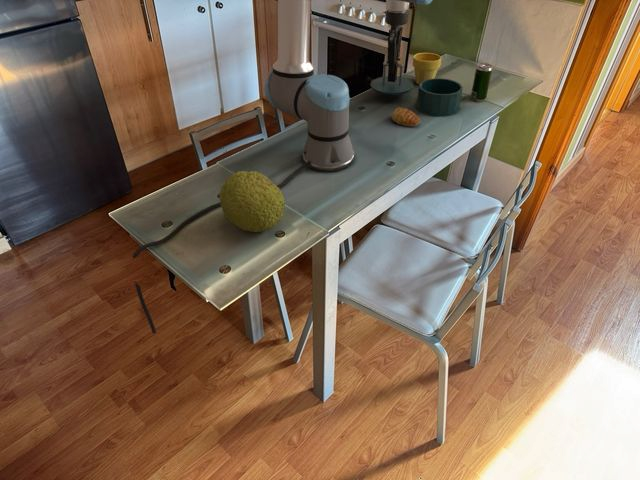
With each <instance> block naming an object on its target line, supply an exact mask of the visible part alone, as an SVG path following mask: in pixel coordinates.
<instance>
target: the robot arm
mask: <svg viewBox="0 0 640 480" xmlns="http://www.w3.org/2000/svg"><path fill="white" fill-rule="evenodd" d="M431 3H433V0H385V9H386V10H385V17H384V22H385V24H386V25H390V29H389V30H388V36H387V61H385V62H386V63H387V64H389V66H387V67H388V69H387V76H388V82H395V80H397V77H398V68H399V67H397V64H399V62H400V61H401V58H400V56H401V55H400V54H401V47H402V39H403V31H404V25H406V24H408V21H409V11H408V10H409V8H410V4H414V5H416V6H419V5H421V6H427V5H429V4H431ZM311 8H312V0H277V60H276V61H275V62H274V63H272V69H271V70H270V71H269V72H268V74H267V76H268V77H266V78H265V81H264V94H265V98H266V100H267V102H268V103H269V104H270V105H271V106H272V107H273V108H275V109H276V110H278V111H279V112H281V113H285V114H287V115H290V116H293V117H295V118H297V119H299V120H300V119H301V120H303V121H305V122H306V124H307V125H306V126H307V137H306V140H305V144H304V148H303V151H302V161H303V164H302V165H301V166H300V167H298V168H297V169H296V170H295V171H293V172H292V173H291V174H289V176H287V177H286V179H285V180H284V181H282V182H281V183H279V184H277V185H276V186H277V187H279V189H281V188H282V187H284V186H285V185H287V184H288V183H289V182H290V181H291V180H292V179H293V178H294V177H295V176H296V175H298V174H299V173H300V172H302V171H303V170H304V169H305V168H307V167H308V168H309V169H312V170H314V171H317V172H325V173H327V172H328V173H329V172H338V171H342V170H344V169H347V168H348V167H350V166H351V165H352V164H353V163H354V161H355V150H354V147H353V145H352V142H351V138H350V136H349V127H350V126H349V125H350V124H349V123H350V103H351V102H350V89H349V86H348V84H347V83H346V82H345V80H343V79H342V78H340V77H338V76H336V75H332V74H325V73H320V74H319V73H318V74H314V73H315V72H314V71H315V66H314V65H313V64H312V63H311V62H310V36H311V11H312V10H311ZM220 207H221V205H220V201H219V202H216V203H214V204H212V205H210V206H208V207H205V208H203V209H202V210H200V211H198V212H196V213H195V214H193V215H192V216H189V218H187V219H185V220H184V221H182V222H181V223H180V224H179V225H178V226H177V227H176V228H175V229H174V230H172V231H171V232H170V233H169V234H167V235H166V236H164V237H163V238H161V239H159V240H155V241H151V242H148V243H145V244H142V245H141V246H139V247H138V248H137V249H136V250H135V251H134V253H133V255H132V259H136V258H137V257H138V256H139V255H140V254H141V252H142V251H144V250H146V249H149V248H152V247H154V246H158V245H161V244H164V243H165V242H167V241H169V240H170V239H171V238H173V237H174V236H175V235H177V233H179V232H180V231H181V230H182V229H183V228H184V227H185V226H187V225H188V224H189V223H191V222H192V221H194V220H195V219H197V218H198V217H200V216H202V215H204V214H206V213H207V212H210V211H212V210H214V209H216V208H220ZM134 284H135V285H134V286H135V290H136V293H137V297H138V299H139V302H140V305H141V307H142V310H143V313H144V315H145V317H146V319H147V321H148V324H149V327H150V330H151V333H152V334H153V335H155V334H156V333H157V330H156V327H155V324H154V321H153V319H152V316H151V314H150V312H149V309H148V307H147V305H146V301H145V299H144V296H143V293H142V288H141V285H140V284H138V283H136V282H134Z"/></svg>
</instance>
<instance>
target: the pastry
mask: <svg viewBox="0 0 640 480" xmlns="http://www.w3.org/2000/svg"><path fill="white" fill-rule="evenodd" d="M391 119H392V121H393V122H394V123H397V124H398V125H402V126H405V127H416V126H418V125H419V124H420V122H421V120H420V118H419V116H418V115H417V114H416V113H415V112H413V111H412V110H411V109H408V108H403V107H397V108H396V109H394V111H393V112H392V115H391Z"/></svg>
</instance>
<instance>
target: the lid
mask: <svg viewBox="0 0 640 480" xmlns="http://www.w3.org/2000/svg"><path fill="white" fill-rule="evenodd" d="M386 62H387V61H383V64H382V66H383V71H382V76H380V77H377V78H375V79H373V80H372V81H371V82H370V88H371V89H372V90H373V91H374V92H377V93H379V94H384V95H401V94H405V93H408V92H410V91H412V90H413V88H414V83H413V82H412V81H411V80H410V79H408V78H406V77H403V69H404V63H398V64H397V67H398V68H399V76H397V80H395V82H388V75H386V74H387V73H386V72H387V67H389V64H387V63H386Z"/></svg>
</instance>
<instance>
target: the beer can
mask: <svg viewBox="0 0 640 480" xmlns="http://www.w3.org/2000/svg"><path fill="white" fill-rule="evenodd" d="M492 72H493V65H492V64H491V63H488V62H479V63H477V65H476V67H475V71H474V78H473V82H472V88H471V93H470V99H471V100H472V101H474V102H478V103H479V102H480V103H481V102H484V101H486V99H487V96H488V92H489V86H490V81H491V78H492Z"/></svg>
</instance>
